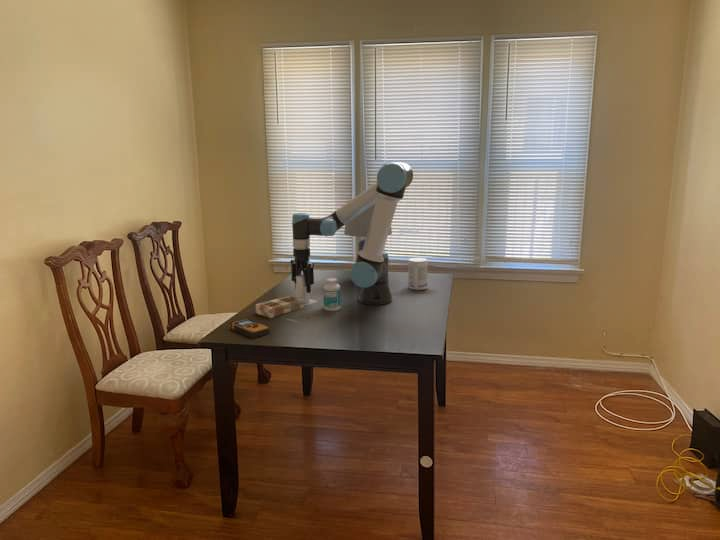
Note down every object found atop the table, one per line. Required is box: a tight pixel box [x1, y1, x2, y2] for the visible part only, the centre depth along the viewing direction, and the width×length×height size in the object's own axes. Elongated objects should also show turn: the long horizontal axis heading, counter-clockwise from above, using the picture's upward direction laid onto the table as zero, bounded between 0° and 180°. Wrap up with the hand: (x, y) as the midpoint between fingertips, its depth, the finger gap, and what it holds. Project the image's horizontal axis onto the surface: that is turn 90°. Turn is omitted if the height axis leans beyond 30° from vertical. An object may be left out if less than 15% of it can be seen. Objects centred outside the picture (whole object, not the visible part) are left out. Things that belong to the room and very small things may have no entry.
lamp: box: [343, 198, 393, 253], centre depth 274 cm, size 25×25×43 cm
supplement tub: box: [407, 257, 428, 291], centre depth 260 cm, size 10×10×15 cm
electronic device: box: [230, 317, 271, 339], centre depth 200 cm, size 8×16×3 cm, turn 45°
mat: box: [303, 298, 319, 307], centre depth 237 cm, size 10×10×1 cm
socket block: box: [255, 295, 304, 319], centre depth 224 cm, size 10×18×4 cm, turn 137°
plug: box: [296, 273, 309, 303], centre depth 235 cm, size 4×4×13 cm
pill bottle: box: [322, 277, 342, 312], centre depth 225 cm, size 8×7×14 cm
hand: (303, 297), depth 236 cm, fingers open, 5 cm apart
